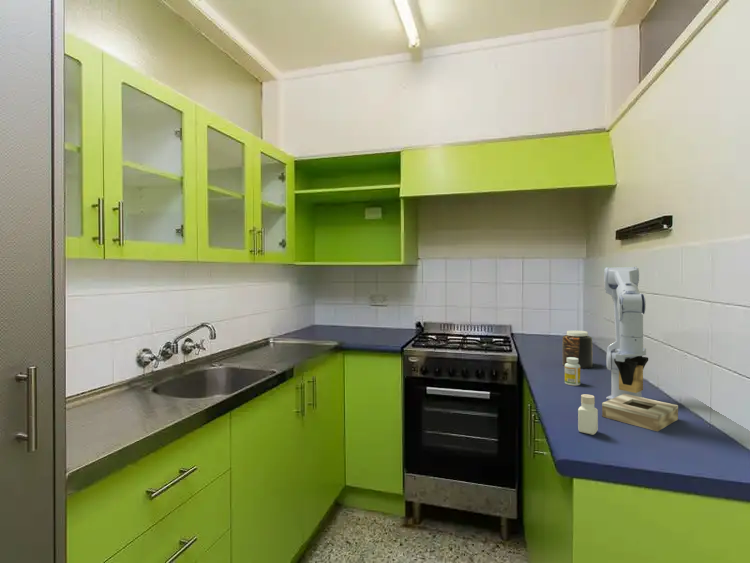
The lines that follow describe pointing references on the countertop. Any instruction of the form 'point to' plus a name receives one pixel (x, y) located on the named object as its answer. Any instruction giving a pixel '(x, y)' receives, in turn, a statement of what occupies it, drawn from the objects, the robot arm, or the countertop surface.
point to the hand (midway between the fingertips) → (631, 383)
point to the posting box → (640, 411)
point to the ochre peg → (637, 381)
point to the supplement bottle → (572, 371)
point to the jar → (578, 348)
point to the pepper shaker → (587, 415)
